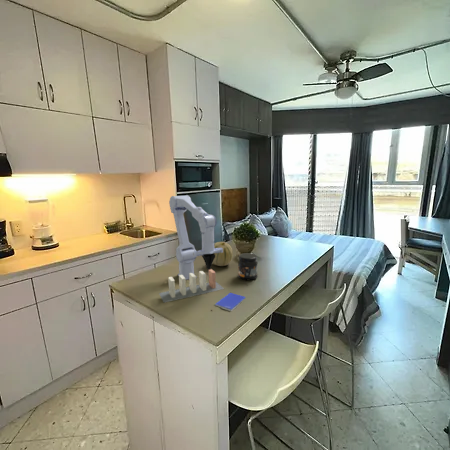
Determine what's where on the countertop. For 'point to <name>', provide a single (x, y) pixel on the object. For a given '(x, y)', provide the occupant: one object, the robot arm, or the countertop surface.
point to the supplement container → (247, 266)
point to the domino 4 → (202, 280)
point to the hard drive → (230, 301)
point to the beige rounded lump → (223, 254)
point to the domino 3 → (192, 282)
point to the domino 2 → (182, 284)
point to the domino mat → (189, 292)
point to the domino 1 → (171, 287)
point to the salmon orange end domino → (212, 278)
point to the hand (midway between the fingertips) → (208, 268)
